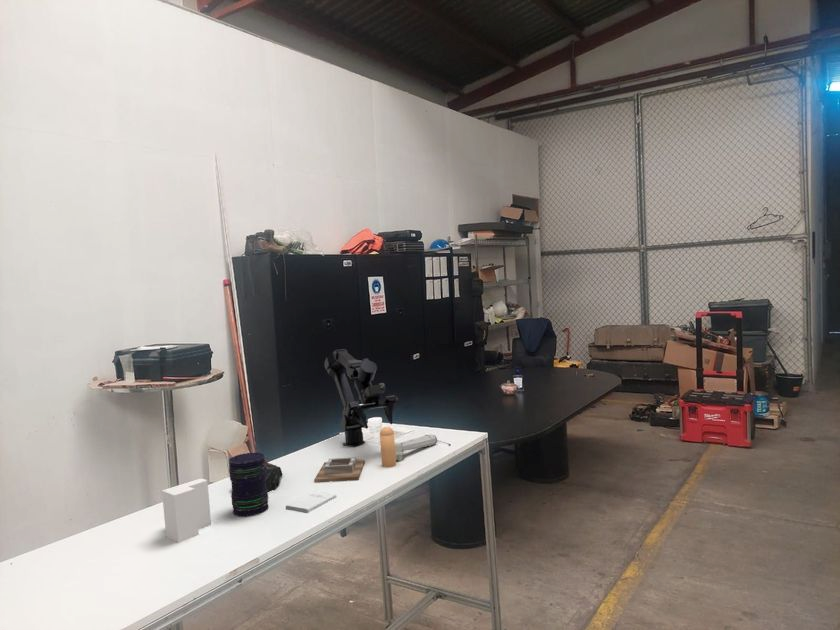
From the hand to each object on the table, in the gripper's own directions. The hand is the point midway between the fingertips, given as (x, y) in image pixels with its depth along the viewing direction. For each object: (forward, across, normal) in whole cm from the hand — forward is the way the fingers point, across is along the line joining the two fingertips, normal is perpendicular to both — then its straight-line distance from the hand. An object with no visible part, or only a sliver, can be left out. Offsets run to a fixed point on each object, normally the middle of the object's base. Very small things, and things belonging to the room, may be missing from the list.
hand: (379, 425), depth 202 cm
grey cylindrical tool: (+8, +13, +10) cm, 18 cm away
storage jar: (+22, -48, -5) cm, 53 cm away
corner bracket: (+25, -65, -7) cm, 70 cm away
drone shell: (+7, -41, +11) cm, 43 cm away
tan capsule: (+13, 0, +4) cm, 14 cm away
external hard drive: (+27, -32, -8) cm, 43 cm away
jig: (+11, -16, +7) cm, 20 cm away
